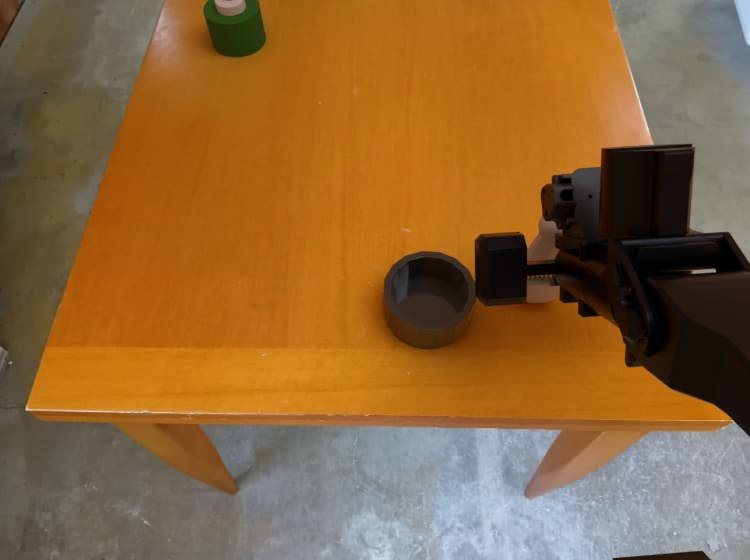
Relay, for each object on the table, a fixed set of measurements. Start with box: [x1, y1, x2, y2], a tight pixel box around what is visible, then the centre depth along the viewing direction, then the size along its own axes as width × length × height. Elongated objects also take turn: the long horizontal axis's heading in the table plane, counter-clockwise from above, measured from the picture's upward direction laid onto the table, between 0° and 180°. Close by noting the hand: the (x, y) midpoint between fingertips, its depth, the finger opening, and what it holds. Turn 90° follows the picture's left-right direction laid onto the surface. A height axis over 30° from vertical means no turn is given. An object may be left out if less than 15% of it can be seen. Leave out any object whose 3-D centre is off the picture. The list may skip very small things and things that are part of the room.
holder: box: [382, 250, 477, 350], centre depth 61 cm, size 10×10×4 cm
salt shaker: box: [525, 213, 562, 304], centre depth 59 cm, size 6×6×13 cm
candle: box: [202, 0, 267, 58], centre depth 84 cm, size 8×8×10 cm
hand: (549, 247), depth 58 cm, fingers open, 9 cm apart
